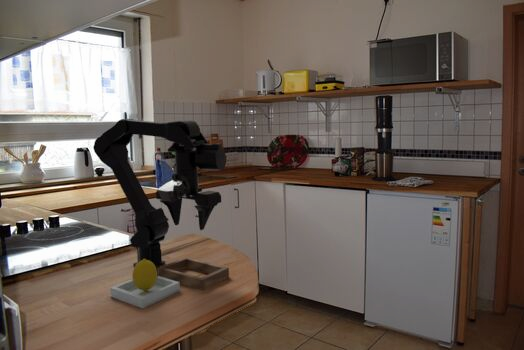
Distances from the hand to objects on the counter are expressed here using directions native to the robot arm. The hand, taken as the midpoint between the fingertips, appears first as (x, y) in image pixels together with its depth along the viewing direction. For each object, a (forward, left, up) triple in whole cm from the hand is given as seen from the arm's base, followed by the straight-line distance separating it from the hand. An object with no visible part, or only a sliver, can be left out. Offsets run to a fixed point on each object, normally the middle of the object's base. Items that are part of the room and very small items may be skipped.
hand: (189, 227), depth 116 cm
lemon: (+2, -17, -12) cm, 21 cm away
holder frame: (+4, -3, -12) cm, 13 cm away
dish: (+2, -17, -12) cm, 21 cm away
